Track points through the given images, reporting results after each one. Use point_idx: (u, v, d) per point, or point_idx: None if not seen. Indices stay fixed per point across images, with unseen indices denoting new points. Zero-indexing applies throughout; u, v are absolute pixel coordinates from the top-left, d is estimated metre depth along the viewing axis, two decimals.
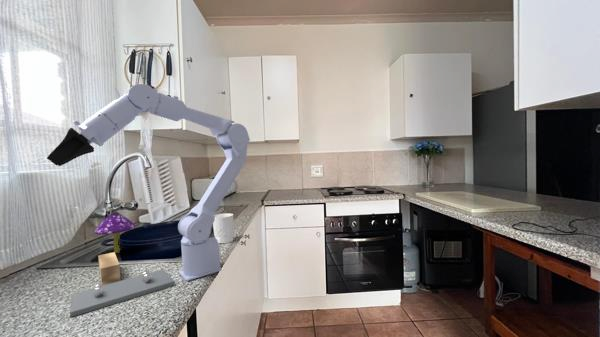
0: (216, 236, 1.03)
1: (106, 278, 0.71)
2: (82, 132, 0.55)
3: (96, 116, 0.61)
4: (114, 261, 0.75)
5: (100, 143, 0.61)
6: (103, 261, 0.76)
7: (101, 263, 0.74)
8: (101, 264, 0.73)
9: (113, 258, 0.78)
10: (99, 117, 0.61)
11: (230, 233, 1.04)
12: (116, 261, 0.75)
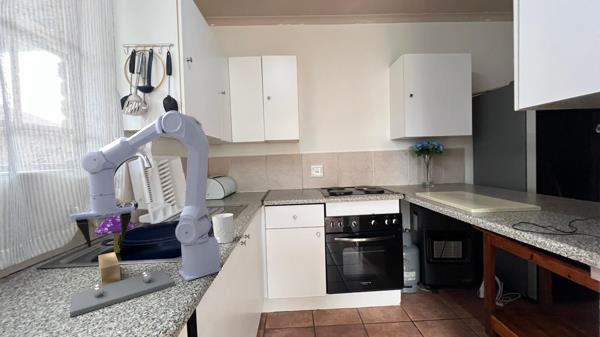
0: (216, 236, 1.03)
1: (107, 278, 0.71)
2: None
3: None
4: (114, 261, 0.75)
5: (96, 214, 0.73)
6: (103, 261, 0.76)
7: (101, 263, 0.74)
8: (101, 264, 0.73)
9: (113, 258, 0.78)
10: None
11: (230, 233, 1.04)
12: (116, 261, 0.75)
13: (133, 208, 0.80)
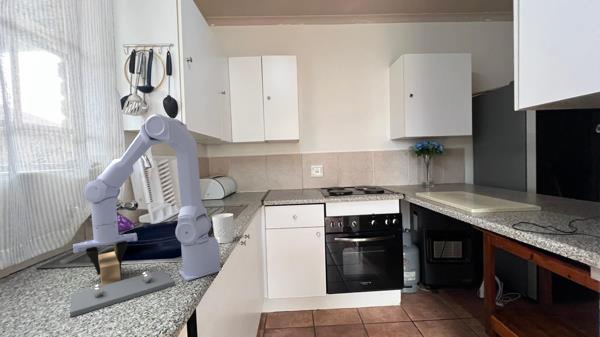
0: (216, 236, 1.03)
1: (107, 277, 0.71)
2: None
3: None
4: (114, 260, 0.75)
5: (99, 244, 0.74)
6: (103, 260, 0.76)
7: (101, 262, 0.74)
8: (101, 263, 0.73)
9: (113, 257, 0.78)
10: None
11: (230, 233, 1.04)
12: (116, 260, 0.75)
13: (135, 235, 0.80)
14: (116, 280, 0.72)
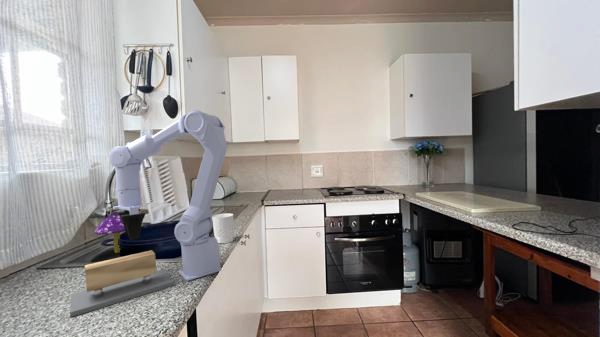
0: (216, 236, 1.03)
1: None
2: (131, 213, 0.72)
3: (121, 195, 0.75)
4: (135, 254, 0.70)
5: (141, 205, 0.79)
6: (125, 259, 0.66)
7: (133, 258, 0.67)
8: (138, 257, 0.68)
9: (120, 258, 0.68)
10: (123, 194, 0.75)
11: (230, 233, 1.04)
12: (138, 253, 0.70)
13: None
14: None
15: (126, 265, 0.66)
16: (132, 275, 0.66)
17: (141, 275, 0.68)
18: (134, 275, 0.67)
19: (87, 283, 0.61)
